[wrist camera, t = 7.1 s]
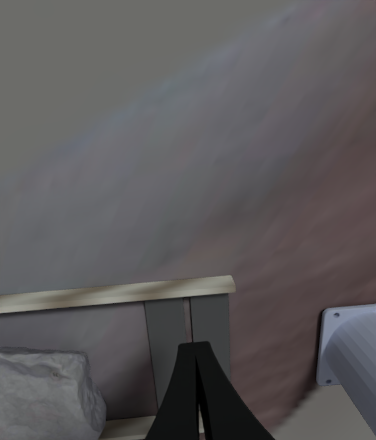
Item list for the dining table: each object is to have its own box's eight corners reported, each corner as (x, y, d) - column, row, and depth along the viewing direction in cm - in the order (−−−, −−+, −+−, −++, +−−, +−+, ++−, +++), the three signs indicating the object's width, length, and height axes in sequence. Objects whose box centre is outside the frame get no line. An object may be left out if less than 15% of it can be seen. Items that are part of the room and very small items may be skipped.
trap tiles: (227, 286, 22) (228, 288, 22) (230, 403, 26) (231, 406, 26) (143, 294, 22) (143, 296, 22) (159, 411, 26) (159, 414, 26)
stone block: (-45, 339, 25) (-17, 440, 26) (-97, 374, 20) (-59, 497, 21) (91, 313, 25) (113, 414, 26) (73, 342, 20) (100, 464, 22)
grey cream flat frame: (231, 275, 22) (235, 286, 20) (233, 411, 26) (237, 428, 25) (-82, 302, 21) (-102, 315, 20) (-25, 438, 26) (-37, 458, 24)
